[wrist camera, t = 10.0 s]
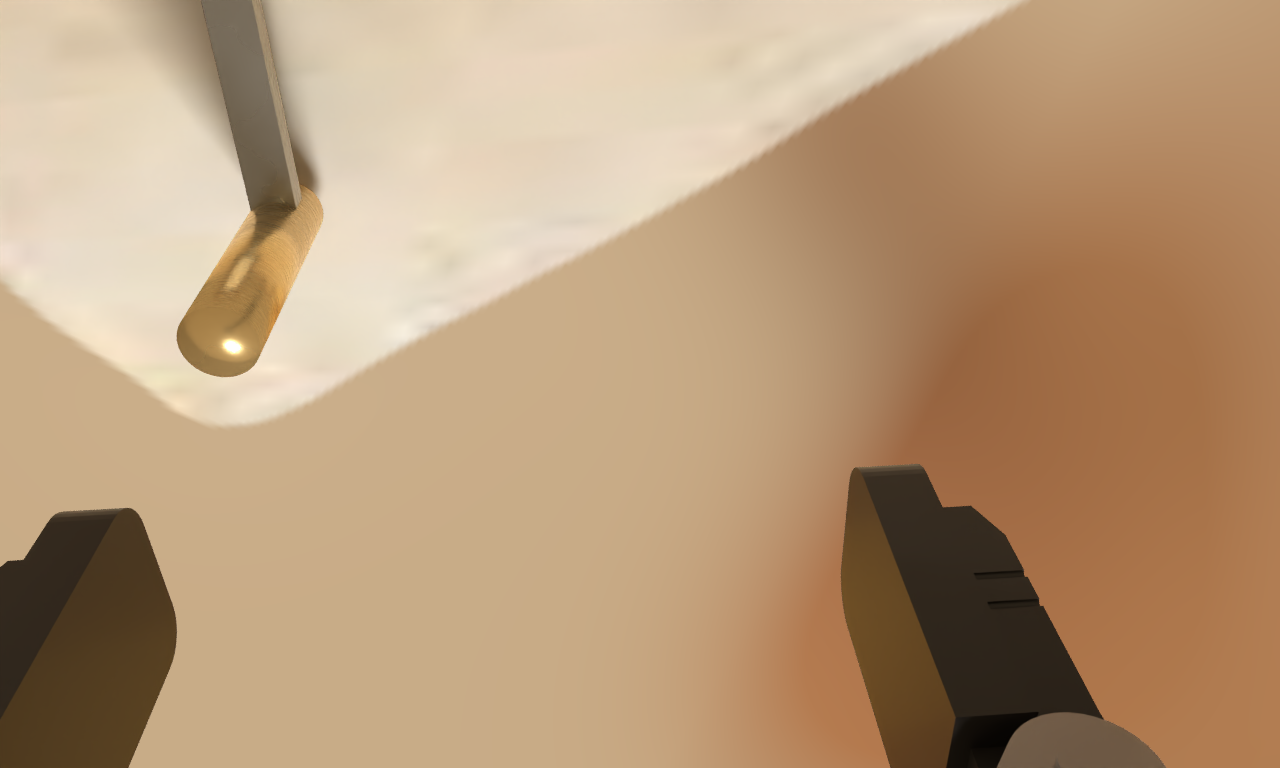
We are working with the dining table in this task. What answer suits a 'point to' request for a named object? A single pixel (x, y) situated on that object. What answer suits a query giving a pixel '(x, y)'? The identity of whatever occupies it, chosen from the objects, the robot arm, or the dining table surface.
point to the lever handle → (251, 204)
